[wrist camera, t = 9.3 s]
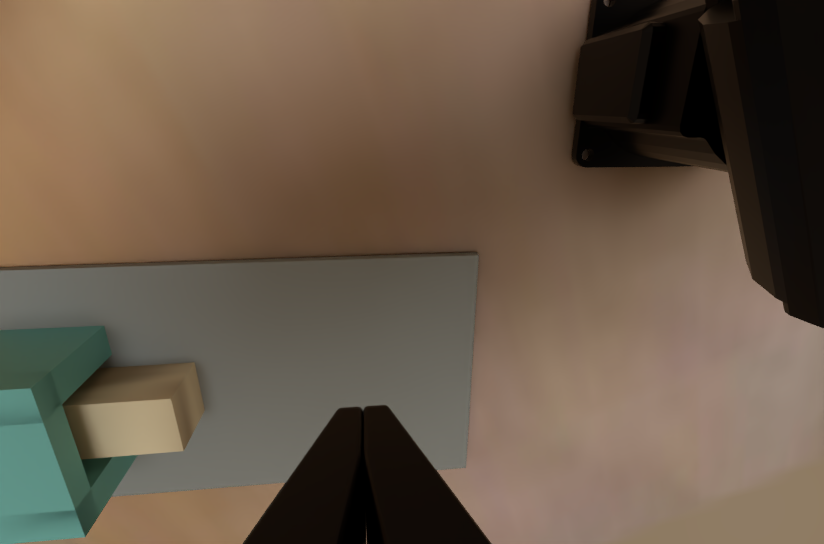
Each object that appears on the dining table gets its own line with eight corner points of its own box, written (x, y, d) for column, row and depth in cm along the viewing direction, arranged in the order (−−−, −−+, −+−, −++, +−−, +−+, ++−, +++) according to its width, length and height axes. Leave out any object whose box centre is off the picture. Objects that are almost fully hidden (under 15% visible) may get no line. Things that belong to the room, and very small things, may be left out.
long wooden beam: (194, 362, 19) (170, 398, 17) (204, 410, 20) (183, 451, 18) (-26, 376, 19) (-84, 416, 16) (-5, 425, 20) (-57, 470, 17)
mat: (476, 252, 19) (478, 255, 19) (464, 461, 24) (465, 467, 23) (-14, 267, 17) (-22, 271, 17) (69, 493, 22) (64, 500, 21)
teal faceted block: (104, 325, 18) (30, 388, 14) (139, 452, 21) (85, 536, 17) (0, 330, 18) (-106, 396, 14) (48, 458, 20) (-29, 547, 16)
